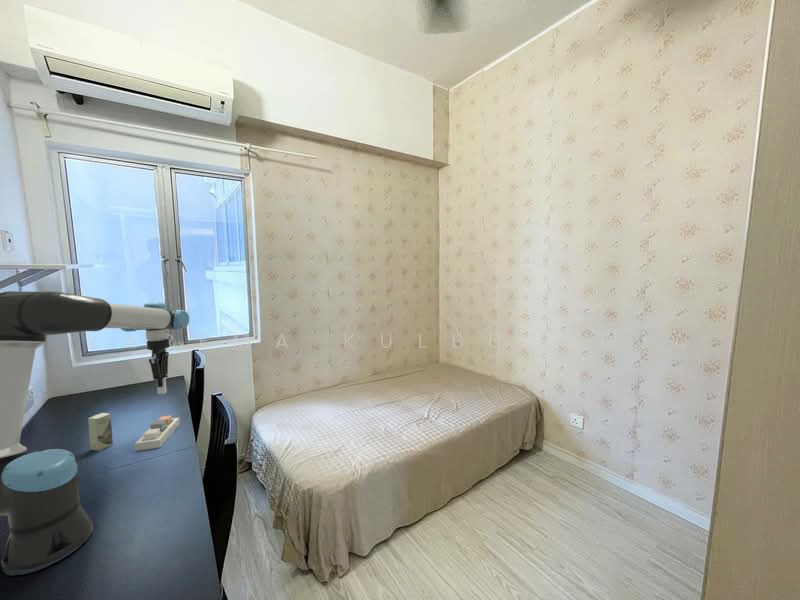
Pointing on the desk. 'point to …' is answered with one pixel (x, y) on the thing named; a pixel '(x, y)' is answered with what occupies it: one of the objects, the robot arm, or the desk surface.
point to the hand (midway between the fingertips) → (162, 393)
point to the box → (100, 431)
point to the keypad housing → (161, 439)
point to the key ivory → (151, 434)
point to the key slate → (159, 424)
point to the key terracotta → (168, 419)
